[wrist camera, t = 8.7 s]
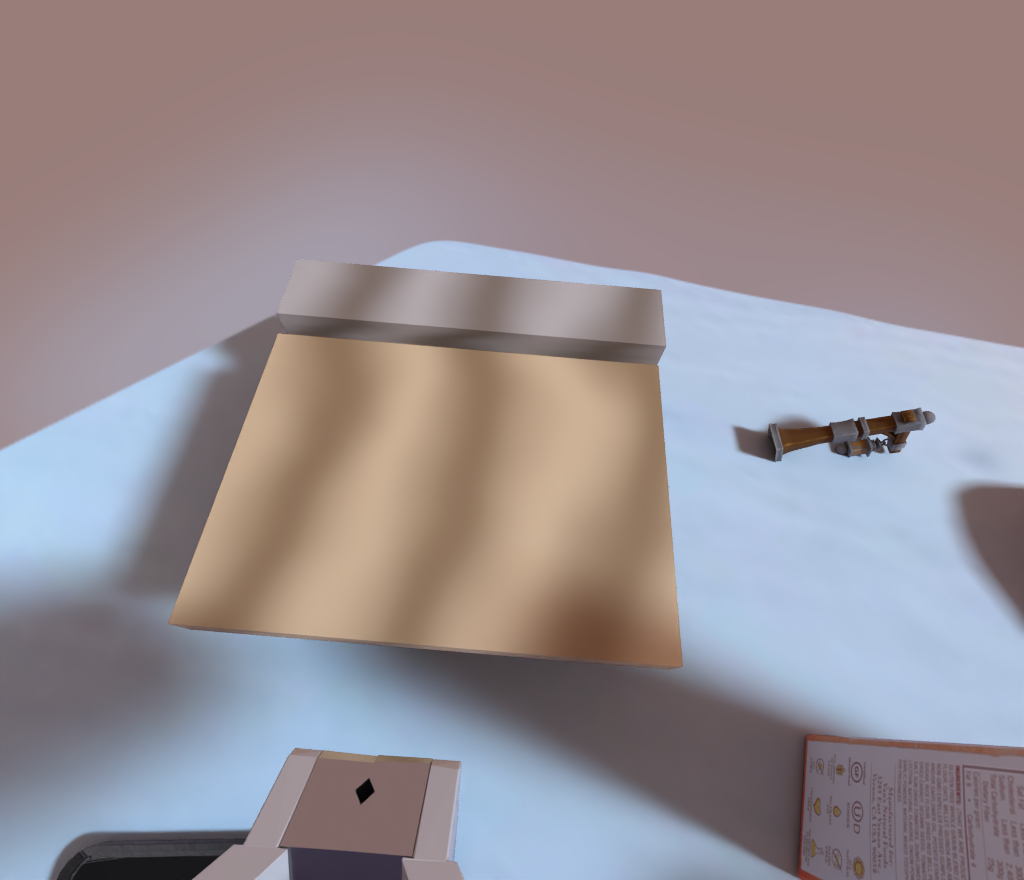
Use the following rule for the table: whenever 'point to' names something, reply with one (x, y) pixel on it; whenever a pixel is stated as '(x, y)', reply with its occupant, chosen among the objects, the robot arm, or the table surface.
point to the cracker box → (911, 810)
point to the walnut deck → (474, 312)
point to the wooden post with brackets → (853, 433)
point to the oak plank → (445, 506)
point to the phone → (146, 859)
